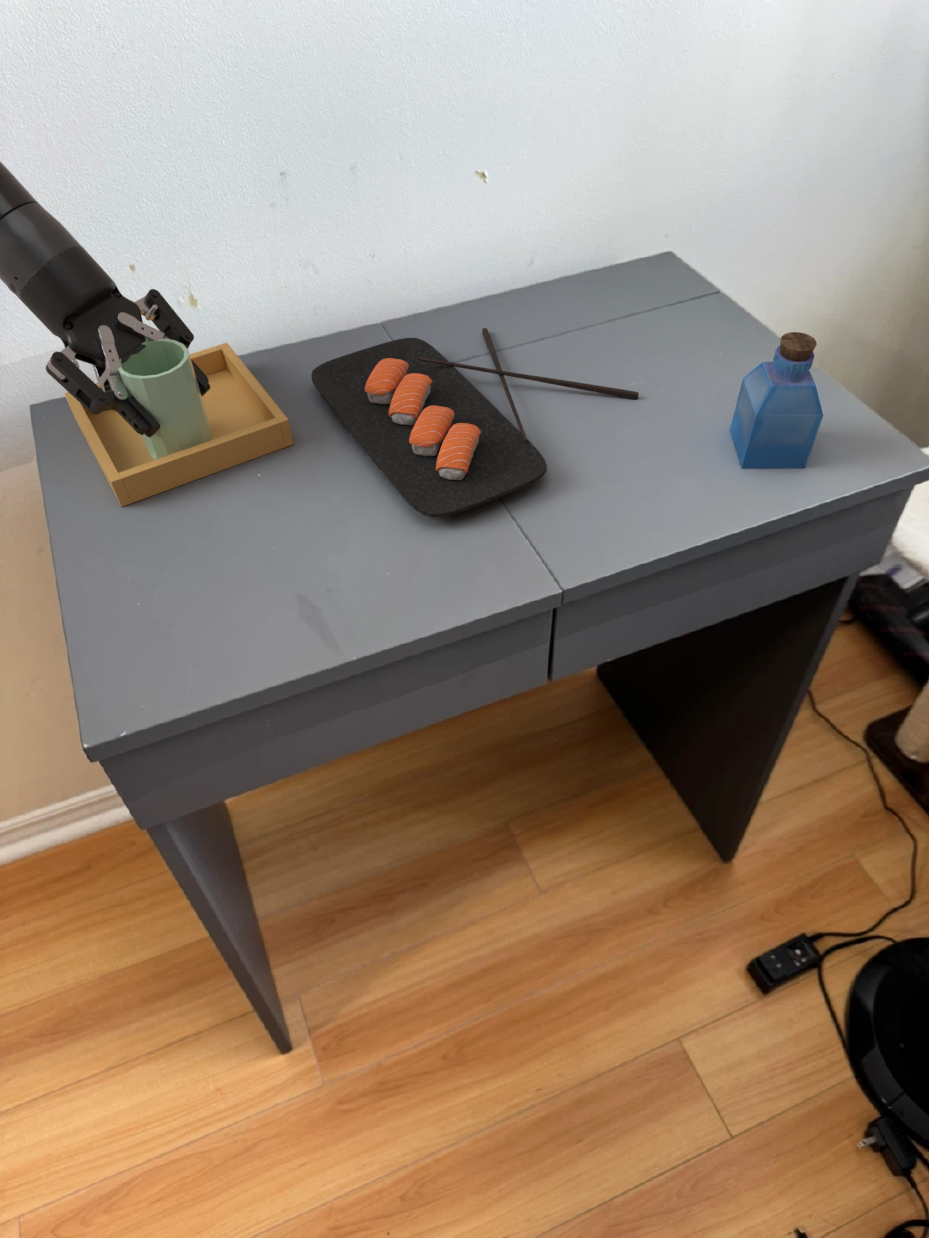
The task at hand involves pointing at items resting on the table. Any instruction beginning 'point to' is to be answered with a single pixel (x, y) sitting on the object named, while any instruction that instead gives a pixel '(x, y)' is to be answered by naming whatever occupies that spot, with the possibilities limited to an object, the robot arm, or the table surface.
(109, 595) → the table surface
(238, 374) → the tray
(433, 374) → the sushi plate
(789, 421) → the perfume bottle
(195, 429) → the teacup
